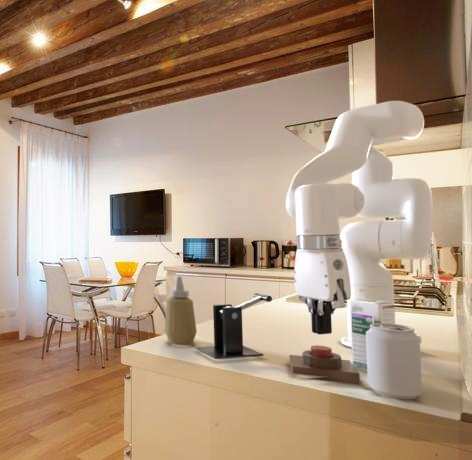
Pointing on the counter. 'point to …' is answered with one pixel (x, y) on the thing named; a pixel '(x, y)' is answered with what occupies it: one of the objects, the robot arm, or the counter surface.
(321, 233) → the robot arm
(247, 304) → the lever
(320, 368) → the button block
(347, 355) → the counter surface
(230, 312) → the bracket
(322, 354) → the button
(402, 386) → the can
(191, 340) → the squeeze bottle
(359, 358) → the syrup box
